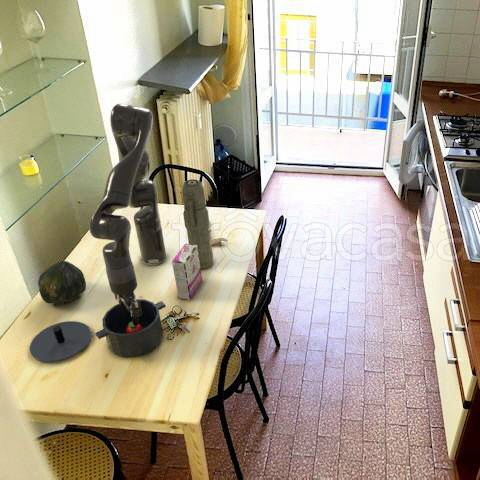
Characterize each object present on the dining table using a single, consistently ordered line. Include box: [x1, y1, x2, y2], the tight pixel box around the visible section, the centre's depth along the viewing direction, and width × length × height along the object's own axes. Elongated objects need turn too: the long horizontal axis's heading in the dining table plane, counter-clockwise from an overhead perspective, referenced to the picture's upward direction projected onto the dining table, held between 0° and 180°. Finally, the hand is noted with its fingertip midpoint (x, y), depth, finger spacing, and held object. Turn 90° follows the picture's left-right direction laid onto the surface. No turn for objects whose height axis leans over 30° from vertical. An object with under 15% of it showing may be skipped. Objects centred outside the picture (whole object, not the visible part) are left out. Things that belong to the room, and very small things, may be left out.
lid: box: [29, 320, 92, 363], centre depth 159 cm, size 18×18×6 cm
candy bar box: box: [171, 243, 203, 301], centre depth 180 cm, size 11×5×16 cm, turn 168°
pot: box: [94, 298, 167, 359], centre depth 160 cm, size 17×22×10 cm
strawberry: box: [126, 322, 143, 334], centre depth 161 cm, size 5×5×6 cm
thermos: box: [181, 178, 214, 271], centre depth 188 cm, size 9×12×35 cm
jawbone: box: [208, 221, 229, 246], centre depth 214 cm, size 9×20×2 cm, turn 33°
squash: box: [37, 260, 87, 306], centre depth 176 cm, size 14×15×15 cm
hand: (131, 317), depth 158 cm, fingers open, 6 cm apart
